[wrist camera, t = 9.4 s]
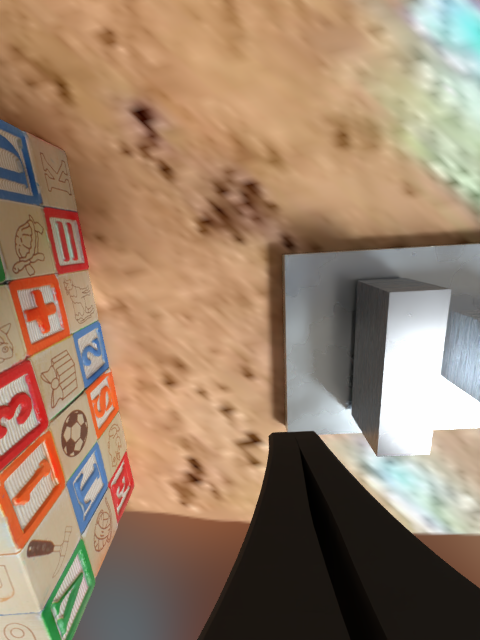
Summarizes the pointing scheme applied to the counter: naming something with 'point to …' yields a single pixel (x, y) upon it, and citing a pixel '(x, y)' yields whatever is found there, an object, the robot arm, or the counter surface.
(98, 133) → the counter surface
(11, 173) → the stack of blocks
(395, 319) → the block
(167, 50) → the counter surface
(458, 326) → the aluminium block
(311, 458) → the robot arm
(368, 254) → the base
